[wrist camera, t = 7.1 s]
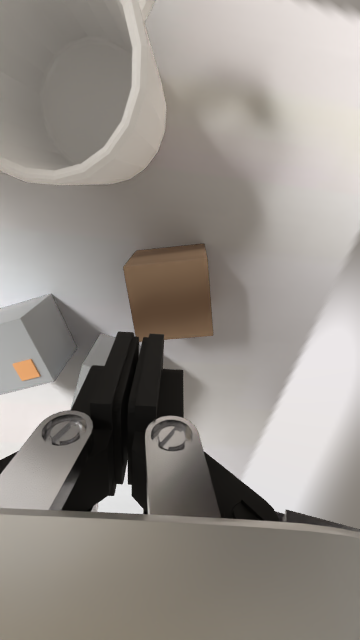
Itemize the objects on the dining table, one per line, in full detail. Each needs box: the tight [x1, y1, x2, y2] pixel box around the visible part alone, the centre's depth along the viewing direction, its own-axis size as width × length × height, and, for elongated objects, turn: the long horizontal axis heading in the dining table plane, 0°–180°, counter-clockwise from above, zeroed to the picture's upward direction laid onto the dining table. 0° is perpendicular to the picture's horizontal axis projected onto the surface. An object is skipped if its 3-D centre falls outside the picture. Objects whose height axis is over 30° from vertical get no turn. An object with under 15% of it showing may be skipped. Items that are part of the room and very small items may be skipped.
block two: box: [0, 294, 77, 395], centre depth 24 cm, size 5×5×5 cm
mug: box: [0, 0, 167, 185], centre depth 15 cm, size 8×12×10 cm
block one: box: [70, 333, 141, 411], centre depth 25 cm, size 5×5×5 cm
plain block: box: [123, 244, 213, 342], centre depth 22 cm, size 5×5×5 cm
